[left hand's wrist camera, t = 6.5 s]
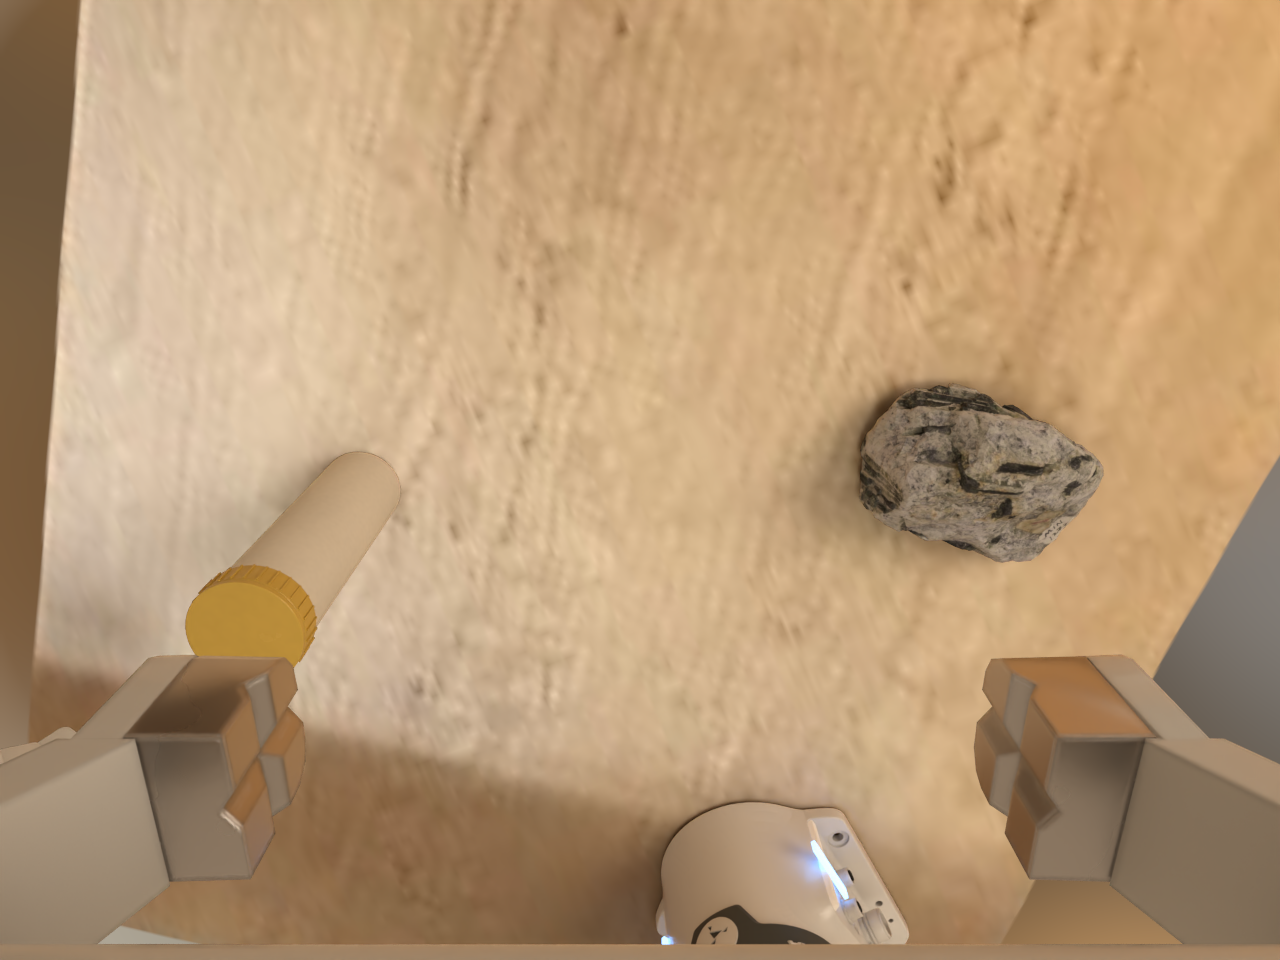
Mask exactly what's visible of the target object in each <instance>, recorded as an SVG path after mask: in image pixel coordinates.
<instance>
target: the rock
mask: <svg viewBox="0 0 1280 960" xmlns="http://www.w3.org/2000/svg"><path fill="white" fill-rule="evenodd" d="M860 451H861V456H862V458H863V460H862V470H861V472H860V477H861V488H860V496H859V498H860V500H861V502H862V503H863V505H864V507H865V508H866V509H868V510H870V511H872V513H873V514H874V517H875V518H876V519H878V520H880V521H881V522H883V523H884V524H885V525H887V526H889V527H891V528H893V529H895V530H897V531H902V530H905V531H907V530H908V531H910V532H912V533H913V534H915V535H917V536H918V537H920V538H922V539H924V540H927V541H937V540H943V541H945V542H947V543H949V544H951V545H953V546H955V547H958V548H960V549H966V550H969V551H970V550H973V551H976V552H978V553H980V554H982V555H984V556H986V557H988V558H991V559H993V560H994V561H997V562H1007V561H1017V562H1021V561H1031V560H1032V559H1034V558H1035V557H1037V556H1038V555H1039V554H1040V553H1041V552H1042V551H1043V549H1044V548H1045V547H1046V546H1047V545H1049V544H1050V543H1051V542H1053V541H1054V540H1056V538H1057V537H1058V535H1059V533H1060V532H1061V530H1062V529H1063V528H1065V527H1066V526H1067V525H1068V524H1069V523H1070V522H1071V521H1072V520H1073V519H1074V518H1075V517H1076V516H1077V515H1078V514H1079V512H1080V511H1081V509H1082V508H1083V507H1084V506H1085V505H1086V503H1087V501H1088V499H1089V498H1090V497H1091V496H1092V495H1093V494H1094V492H1095V491H1096V489H1097V488H1098V486H1099V484H1100V481H1101V479H1102V477H1103V466H1102V465H1101V463H1100V461H1099V460H1098V459H1097V458H1096V457H1095V456H1094V455H1093V453H1091V452H1089V451H1087V450H1086V449H1085V448H1084V447H1083V446H1082V445H1079V444H1076V443H1075V442H1074V441H1072V440H1070V439H1069V438H1067V437H1066V436H1065V435H1064V434H1062V433H1061V432H1059V431H1058V430H1057V429H1056V428H1054V427H1053V426H1052V425H1050V424H1047V423H1045V422H1041V421H1038V420H1035V419H1032V418H1030V417H1029V416H1028V415H1027V414H1026V413H1024V412H1023V411H1022V410H1020V409H1019V408H1017V407H1015V406H1014V405H1004V406H1003V407H1001V406H1000V405H999V404H997V403H996V402H995V401H994V400H993V399H991V398H990V397H989V396H987V395H985V394H980V393H979V392H978V391H977V390H975V389H970V388H967V387H964V386H961V385H958V384H949V386H948V388H946V387H942V386H936V387H934V388H932V389H930V390H928V389H920V388H913V389H911V390H910V391H907V392H905V393H903V394H901V395H900V396H899V397H898V398H897V399H896V400H895V402H894V403H893V404H892V405H891V407H890V408H889V410H888V411H887V412H885V413H884V414H883V415H882V416H881V417H879V418H878V420H877V422H876V423H875V425H874V427H873V428H872V429H871V430H870V431H869V432H868V433H867V434H866V436H865V438H864V441H863V443H862V445H861V450H860Z"/></svg>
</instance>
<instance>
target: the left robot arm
mask: <svg viewBox="0 0 1280 960" xmlns="http://www.w3.org/2000/svg"><path fill="white" fill-rule="evenodd" d="M297 690H298V688H297V684H296V679H295V674H294V669H293V665H292V664H291V663H290V662H289V661H288V660H287V659H286V658H285V657H246V656H197V655H167V656H156V657H151V658H148V659H147V660H146V661H145V662H144V663H143V664H142V665H141V666H140V667H139V668H138V669H137V670H136V672H135V673H134V674H133V675H132V676H131V677H130V678H129V679H128V680H127V681H126V682H125V683H124V684H123V685H122V686H121V687H120V688H119V689H118V690H117V691H116V692H115V693H114V694H113V695H112V696H111V697H110V698H109V699H108V700H107V702H106V703H105V704H104V705H103V706H102V707H101V708H100V709H99V710H98V711H97V712H96V713H95V714H94V715H93V716H92V717H91V718H90V719H89V720H88V721H87V722H86V723H85V724H84V725H83V726H82V727H81V728H80V729H79V731H78V732H77V733H76V734H75V735H74V736H73V737H72V738H71V739H54V740H52V741H50V742H48V743H46V744H44V745H41V746H39V747H37V748H35V749H33V750H30V751H28V752H26V753H24V754H22V755H20V756H17V757H15V758H13V759H11V760H9V761H7V762H4V763H2V764H0V960H1280V764H1278V763H1276V762H1273V761H1271V760H1269V759H1267V758H1265V757H1262V756H1260V755H1258V754H1256V753H1254V752H1252V751H1249V750H1247V749H1245V748H1243V747H1241V746H1239V745H1236V744H1234V743H1232V742H1230V741H1228V740H1225V739H1209V738H1208V737H1207V736H1206V735H1205V734H1204V733H1203V731H1202V730H1201V729H1200V728H1199V727H1198V726H1197V725H1196V724H1195V723H1194V722H1193V721H1192V720H1191V719H1190V718H1189V717H1188V716H1187V715H1186V714H1185V713H1184V712H1183V711H1182V710H1181V709H1180V708H1179V707H1178V706H1177V705H1176V703H1174V701H1173V700H1172V699H1171V698H1170V697H1169V696H1168V695H1167V694H1166V693H1165V692H1164V691H1163V690H1162V689H1161V688H1160V687H1159V686H1158V685H1157V684H1156V683H1155V682H1154V681H1153V680H1152V679H1151V678H1150V677H1149V675H1148V674H1147V673H1146V672H1145V671H1144V670H1143V669H1142V668H1141V667H1140V666H1139V665H1138V664H1137V663H1136V662H1135V661H1134V660H1133V659H1131V658H1128V657H1126V656H1124V655H1100V656H1078V657H1039V658H1000V659H991V661H990V663H989V665H988V667H987V669H986V671H985V677H984V683H983V688H982V690H983V692H984V694H985V695H986V697H987V698H988V700H989V702H990V703H991V705H992V707H991V708H990V709H989V710H988V711H987V713H986V714H985V715H984V716H983V717H982V718H981V719H980V720H979V721H978V722H977V726H976V734H975V742H974V753H975V764H976V772H977V776H978V779H979V782H980V786H981V789H982V791H983V793H984V795H985V797H986V799H987V801H988V803H989V804H990V805H991V806H993V807H994V808H996V809H997V810H998V811H1000V812H1001V813H1003V814H1004V815H1006V816H1007V817H1008V818H1007V823H1006V829H1005V835H1006V837H1007V839H1008V840H1009V842H1010V844H1011V846H1012V848H1013V850H1014V852H1015V853H1016V855H1017V857H1018V859H1019V861H1020V863H1021V865H1022V866H1023V868H1024V870H1025V872H1026V874H1027V876H1028V878H1029V879H1035V880H1071V881H1109V882H1110V886H1111V887H1113V888H1114V889H1115V890H1116V891H1117V892H1119V893H1120V894H1121V895H1122V896H1124V897H1125V898H1126V899H1127V900H1129V901H1130V902H1131V903H1132V904H1134V905H1135V906H1136V907H1138V908H1139V909H1140V910H1141V911H1143V912H1144V913H1145V914H1146V915H1148V916H1149V917H1150V918H1151V919H1152V920H1154V921H1155V922H1156V923H1157V924H1159V925H1160V926H1161V927H1162V928H1164V929H1165V930H1166V931H1167V932H1169V933H1170V934H1171V935H1173V936H1174V937H1175V938H1176V939H1177V940H1179V941H1180V942H1181V943H1182V944H98V943H99V942H100V941H101V940H103V939H104V938H105V937H107V936H108V935H109V934H110V933H112V932H113V931H114V930H115V929H116V928H118V927H119V926H120V925H122V924H123V923H124V922H125V921H127V920H128V919H129V918H130V917H132V916H133V915H134V914H135V913H137V912H138V911H139V910H140V909H142V908H143V907H144V906H145V905H147V904H148V903H149V902H150V901H152V900H153V899H154V898H155V897H157V896H158V895H159V894H160V893H162V892H163V891H164V890H165V889H167V888H168V887H169V886H170V882H172V881H207V880H242V879H251V878H252V876H253V874H254V872H255V870H256V868H257V867H258V865H259V863H260V861H261V859H262V857H263V855H264V853H265V852H266V850H267V848H268V846H269V844H270V842H271V840H272V839H273V837H274V835H275V829H274V823H273V818H272V817H273V816H274V815H276V814H277V813H279V812H280V811H282V810H283V809H284V808H286V807H287V806H289V805H290V804H291V802H292V800H293V798H294V796H295V794H296V792H297V790H298V788H299V786H300V783H301V778H302V774H303V769H304V765H305V755H306V739H305V732H304V726H303V722H302V721H301V720H300V719H299V718H298V717H297V716H296V715H295V714H294V713H293V712H292V710H291V709H290V708H289V707H288V705H289V703H290V702H291V700H292V698H293V697H294V695H295V694H296V692H297Z"/></svg>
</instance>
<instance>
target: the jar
mask: <svg viewBox="0 0 1280 960" xmlns="http://www.w3.org/2000/svg"><path fill="white" fill-rule="evenodd" d="M400 494H401V488H400V483H399V480H398V477H397V475H396V473H395V472H394V470H393V469H392V468H391V466H390V465H389V464H388V463H386V462H385V461H384V460H382V459H381V458H379V457H377V456H375V455H372V454H369V453H365V452H351V453H347V454H344V455H342V456H340V457H338V458H337V459H335V460H334V461H333V462H332V463H331V464H330V465H329V466H328V467H327V468H326V469H325V470H324V471H323V472H322V473H321V474H320V475H319V476H318V477H317V479H316V480H315V481H314V482H313V483H312V484H311V485H310V486H309V487H308V488H307V489H306V490H305V491H304V492H303V493H302V494H301V495H300V496H299V497H298V498H297V499H296V500H295V501H294V502H293V503H292V505H291V506H290V507H289V508H288V509H287V510H286V511H285V512H284V513H283V514H282V515H281V516H280V517H279V518H278V519H277V520H276V521H275V522H274V523H273V524H272V525H271V526H270V527H269V528H268V529H267V530H266V532H265V533H264V534H263V535H262V536H261V537H260V538H259V539H258V540H257V541H256V542H255V543H254V544H253V545H252V546H251V547H250V548H249V549H248V550H247V551H246V552H245V553H244V554H243V555H242V556H241V558H240V559H239V560H238V561H237V562H236V563H235V564H234V565H233V566H232V567H231V568H235V567H239V566H240V565H243V566H245V565H253V564H256V565H258V566H264V567H266V566H268V567H269V568H272V569H275V570H277V571H281V572H282V573H284V574H286V575H287V576H289V577H292V579H293V580H294V581H296V582H297V583H298V584H299V585H301V586H302V588H303V589H304V591H305V592H306V593H307V595H309V596H310V597H309V598H310V600H311V602H312V604H313V605H314V606H315V607H314V610H315V614H316V616H317V619H316V627H317V625H318V624H319V622H320V621H321V619H322V618H323V616H324V615H325V613H326V612H327V610H328V609H329V607H330V606H331V604H332V603H333V601H334V600H335V598H336V597H337V595H338V594H339V592H340V591H341V589H342V588H343V586H344V585H345V583H346V582H347V580H348V579H349V577H350V576H351V574H352V573H353V571H354V570H355V568H356V567H357V565H358V564H359V562H360V561H361V560H362V558H363V557H364V555H365V554H366V552H367V551H368V549H369V548H370V546H371V545H372V543H373V542H374V540H375V539H376V537H377V536H378V534H379V533H380V531H381V530H382V528H383V527H384V525H385V524H386V522H387V521H388V519H389V518H390V516H391V515H392V513H393V512H394V510H395V509H396V507H397V505H398V503H399V500H400Z"/></svg>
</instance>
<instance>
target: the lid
mask: <svg viewBox="0 0 1280 960" xmlns="http://www.w3.org/2000/svg"><path fill="white" fill-rule="evenodd" d="M198 594H199V595H198V596H197V597H196V598H195V599H194V600H193V601H192V604H191V606H190V607H189V610H188V612H187V616H186V625H185V628H186V635H187V639H188V642H189V644H190V646H191V648H192V650H193V652H194V653H195V655H197V656H246V657H285V658H286V659H287V660H288V661H289V662H290V663H291V664H292V665H293V668H294V667H295V665H296V664H297V663H298V661H299V662H300V661H301V660H302V658H303V657H304V655H305V653H306V652H307V650H308V649H309V647H310V645H311V643H312V642H313V640H314V639H315V637H314V634H315V631H316V630H317V627H316V619H317V616H316V614H315V610H314V607H315V606H314V605H313V604H312V602H311V600H310V598H309V597H310V596H309V595H307V593H306V592H305V591H304V589H303V588H302V586H301V585H299V584H298V583H297V582H296V581H294V580H293V579H292V577H289V576H287V575H286V574H284V573H282V572H281V571H277V570H275V569H272V568H269V567H268V566H266V567H264V566H258V565H256V564H253V565H245V566H243V565H240V566H239V567H235V568H231V567H230V568H228V569H227V571H225V572H223V573H221V572H220V573H218V574H217V576H216V577H215V578H214V579H213V580H212V579H211V580H210V581H209V582H208V583H207V584H206V585H205V586H204V588H203V589H202V590H201V591H200V592H199V593H198Z"/></svg>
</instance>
